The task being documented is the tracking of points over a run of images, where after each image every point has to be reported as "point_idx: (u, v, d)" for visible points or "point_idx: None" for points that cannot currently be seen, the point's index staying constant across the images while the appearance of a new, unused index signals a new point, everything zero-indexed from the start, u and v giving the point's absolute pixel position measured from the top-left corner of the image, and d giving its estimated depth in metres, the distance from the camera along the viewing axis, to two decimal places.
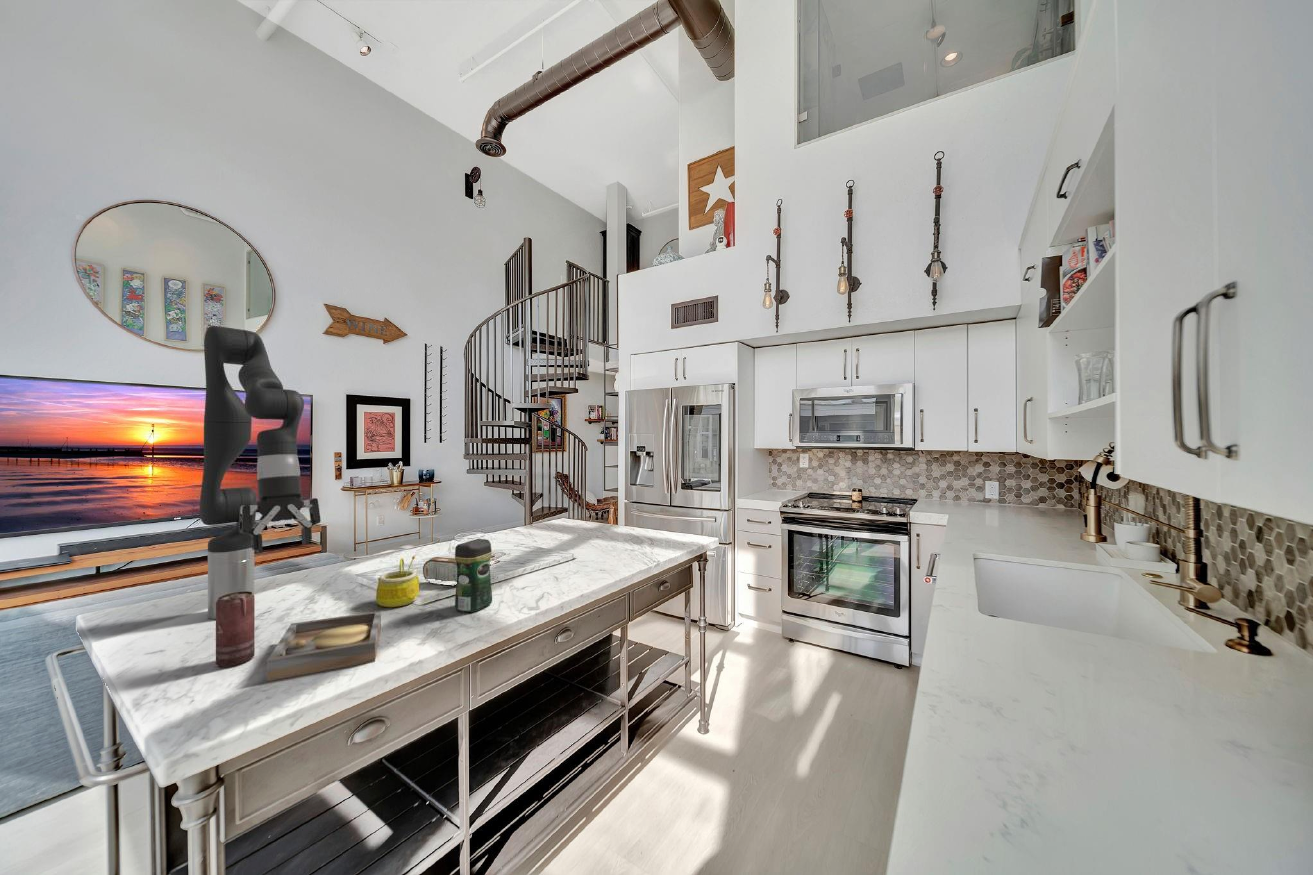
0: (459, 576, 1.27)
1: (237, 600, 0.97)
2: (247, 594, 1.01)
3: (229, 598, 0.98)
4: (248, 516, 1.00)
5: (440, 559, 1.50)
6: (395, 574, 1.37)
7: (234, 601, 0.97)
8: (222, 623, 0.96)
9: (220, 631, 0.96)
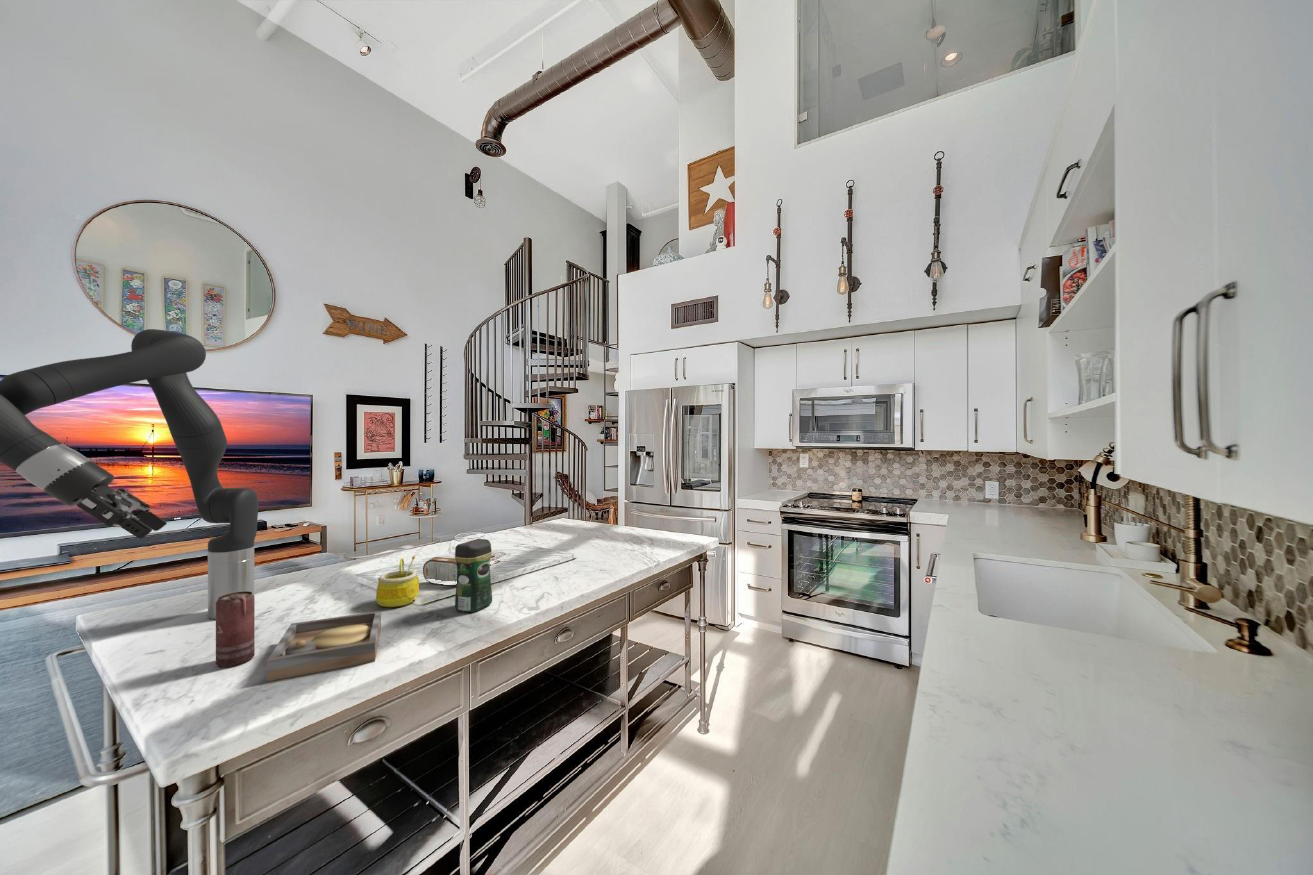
0: (459, 576, 1.27)
1: (237, 600, 0.97)
2: (247, 594, 1.01)
3: (229, 598, 0.98)
4: None
5: (440, 559, 1.50)
6: (395, 574, 1.37)
7: (234, 601, 0.97)
8: (222, 623, 0.96)
9: (220, 631, 0.96)
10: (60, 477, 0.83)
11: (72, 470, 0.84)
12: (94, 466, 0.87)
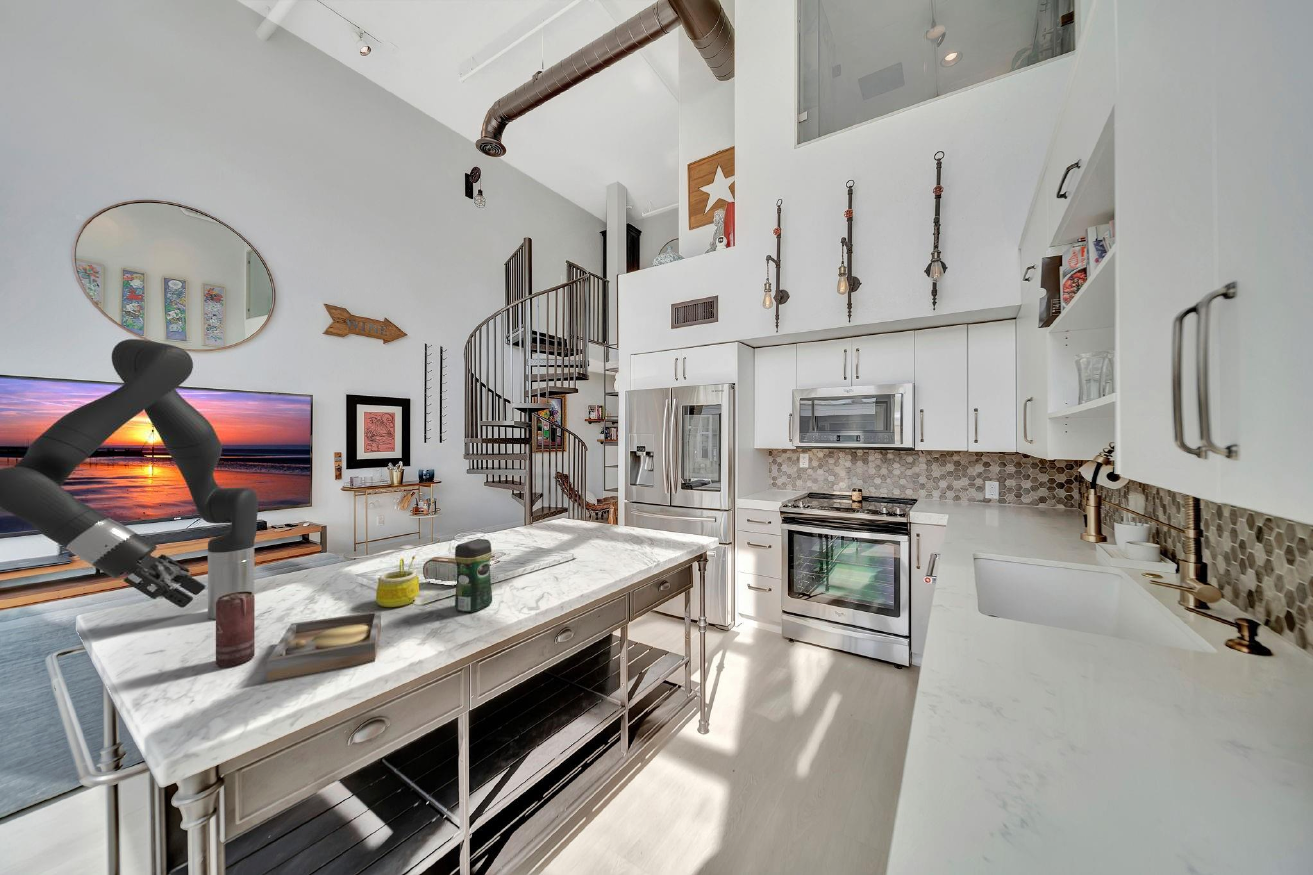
0: (459, 576, 1.27)
1: (237, 600, 0.97)
2: (247, 594, 1.01)
3: (229, 598, 0.98)
4: None
5: (440, 559, 1.50)
6: (395, 574, 1.37)
7: (234, 601, 0.97)
8: (222, 623, 0.96)
9: (220, 631, 0.96)
10: (107, 553, 0.87)
11: (118, 545, 0.88)
12: (138, 538, 0.91)
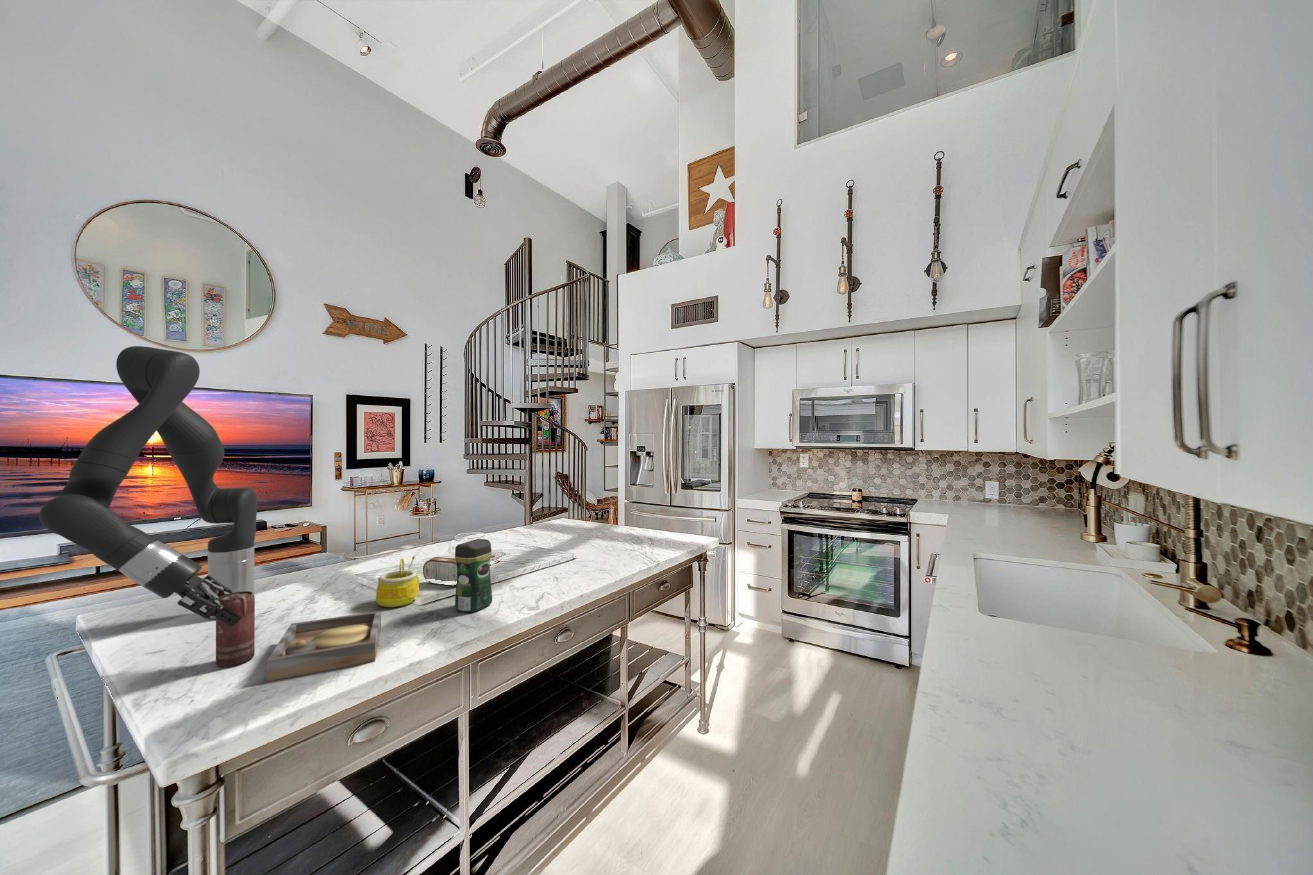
0: (459, 576, 1.27)
1: (237, 600, 0.97)
2: (247, 594, 1.01)
3: (229, 598, 0.98)
4: None
5: (440, 559, 1.50)
6: (395, 574, 1.37)
7: (234, 601, 0.97)
8: (222, 623, 0.96)
9: (220, 631, 0.96)
10: (158, 574, 0.90)
11: (168, 567, 0.91)
12: (185, 560, 0.94)
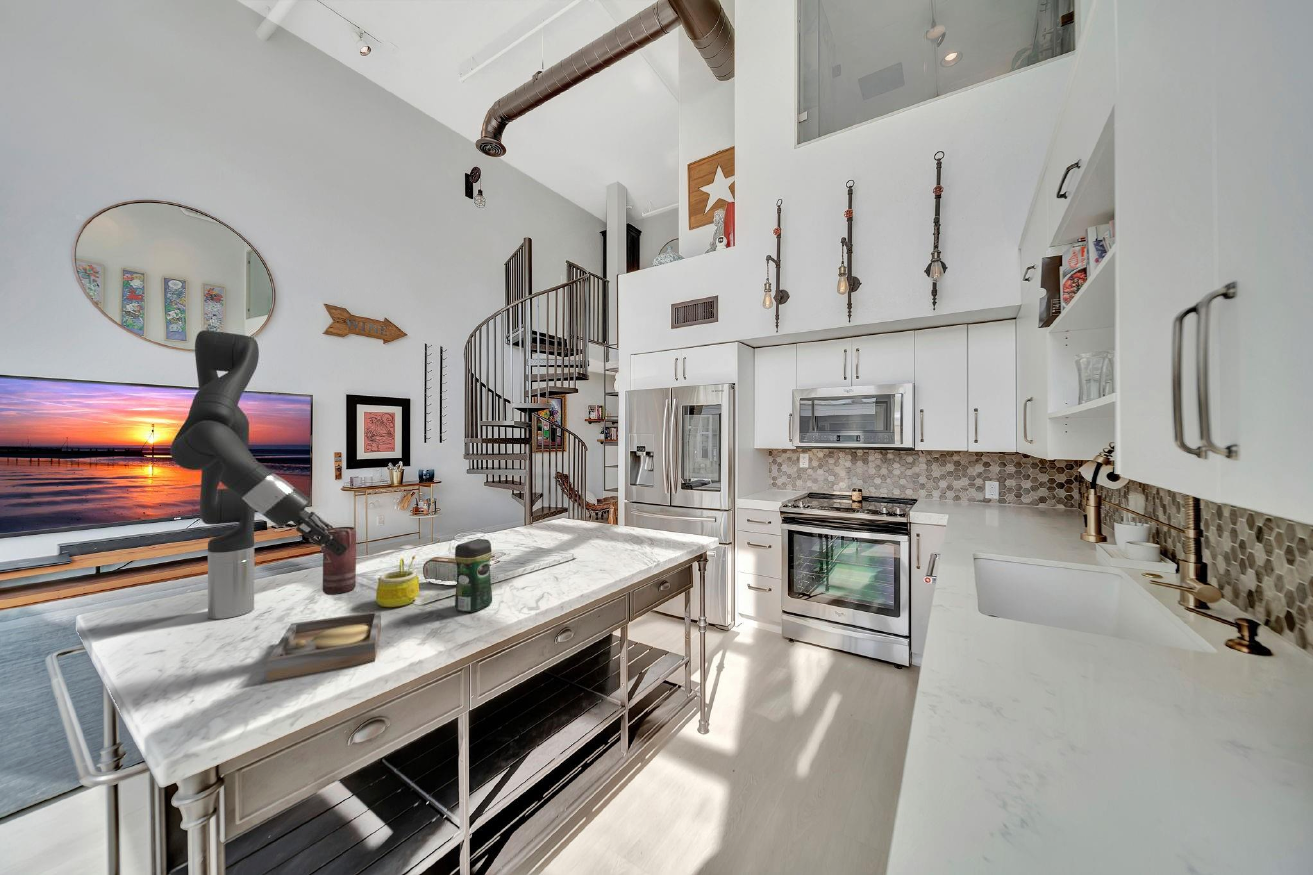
0: (459, 576, 1.27)
1: (343, 532, 1.04)
2: (349, 529, 1.07)
3: (335, 531, 1.05)
4: None
5: (440, 559, 1.50)
6: (395, 574, 1.37)
7: (341, 533, 1.03)
8: (330, 553, 1.02)
9: (328, 560, 1.02)
10: (277, 503, 0.97)
11: (285, 497, 0.98)
12: (298, 492, 1.01)
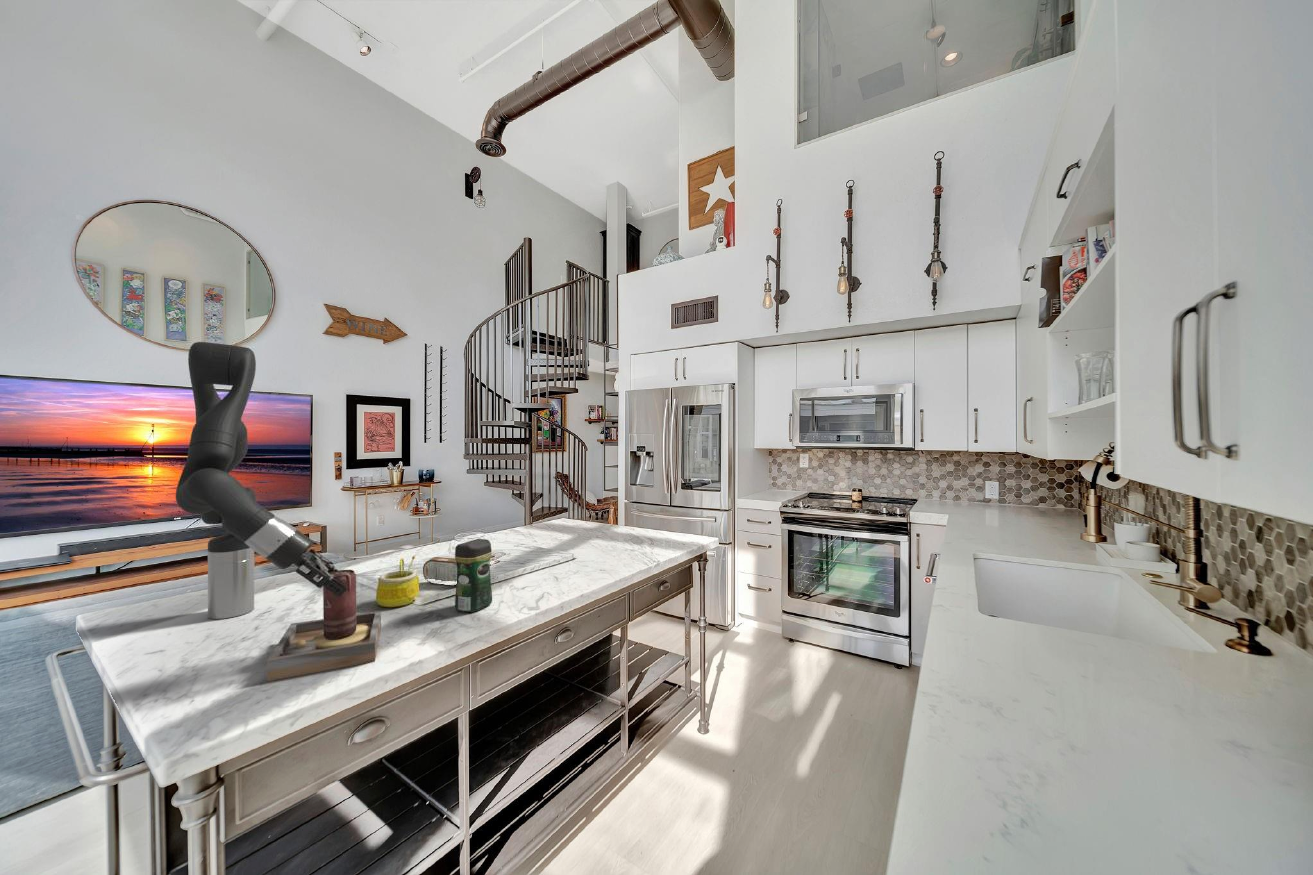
0: (459, 576, 1.27)
1: (343, 577, 1.04)
2: (349, 572, 1.07)
3: (335, 575, 1.05)
4: None
5: (440, 559, 1.50)
6: (395, 574, 1.37)
7: (341, 578, 1.04)
8: (331, 599, 1.03)
9: (329, 605, 1.03)
10: (280, 547, 0.97)
11: (287, 540, 0.98)
12: (300, 534, 1.01)
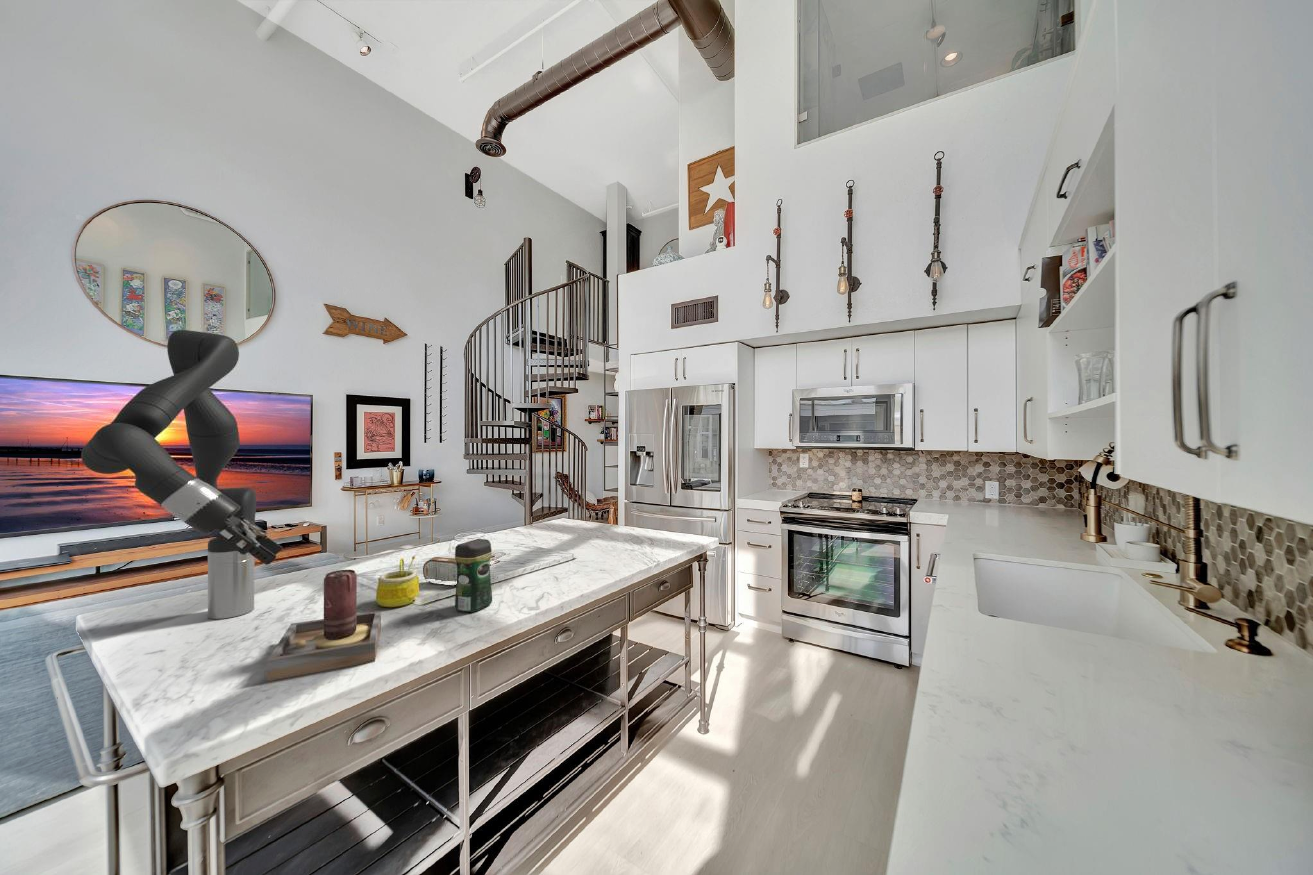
0: (459, 576, 1.27)
1: (344, 577, 1.04)
2: (350, 572, 1.08)
3: (335, 575, 1.05)
4: None
5: (440, 559, 1.50)
6: (395, 574, 1.37)
7: (341, 577, 1.04)
8: (331, 598, 1.03)
9: (329, 605, 1.03)
10: (200, 510, 0.91)
11: (209, 503, 0.92)
12: (225, 498, 0.95)
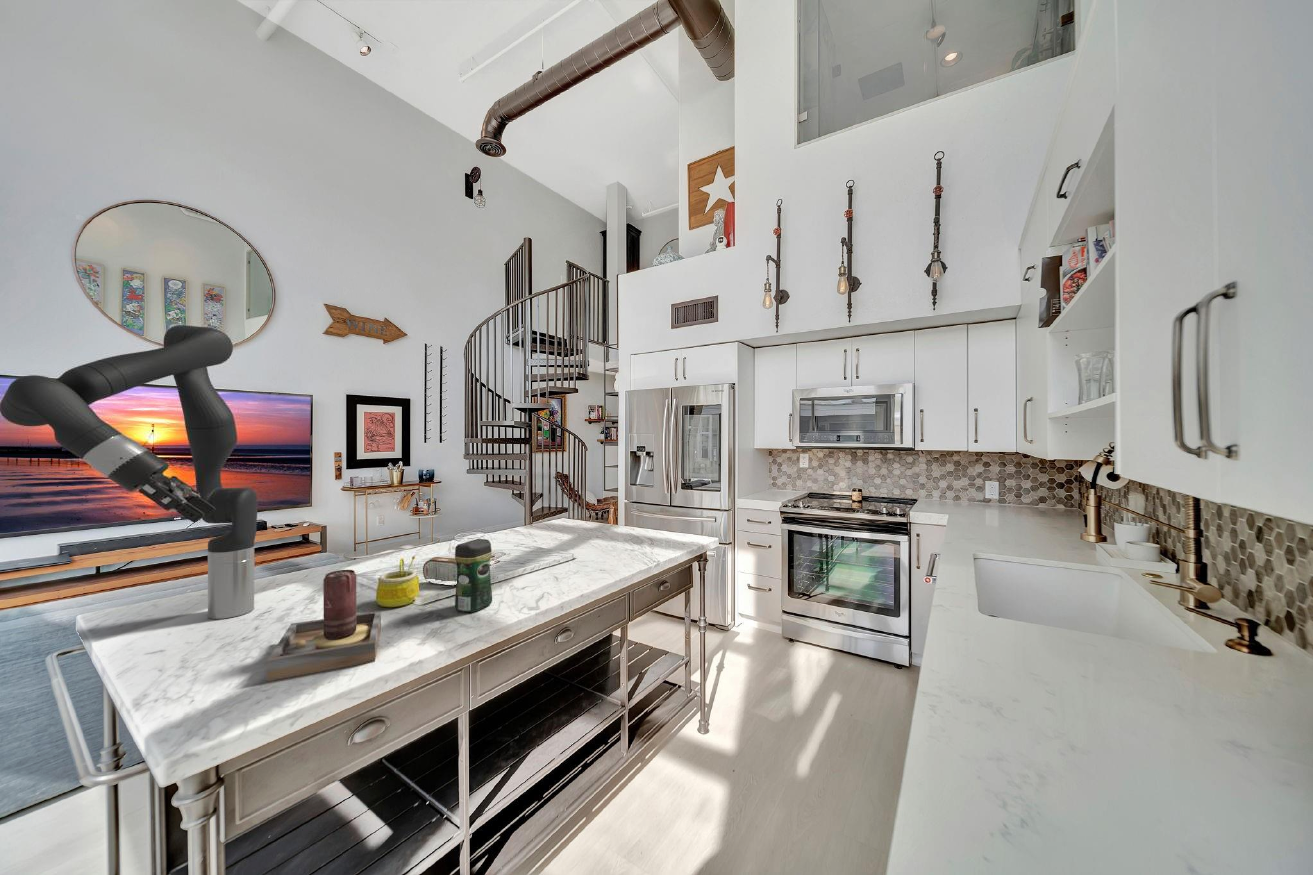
0: (459, 576, 1.27)
1: (344, 577, 1.04)
2: (349, 572, 1.07)
3: (335, 575, 1.05)
4: None
5: (440, 559, 1.50)
6: (395, 574, 1.37)
7: (341, 578, 1.04)
8: (331, 599, 1.03)
9: (329, 605, 1.03)
10: (122, 465, 0.90)
11: (133, 458, 0.91)
12: (151, 455, 0.94)
